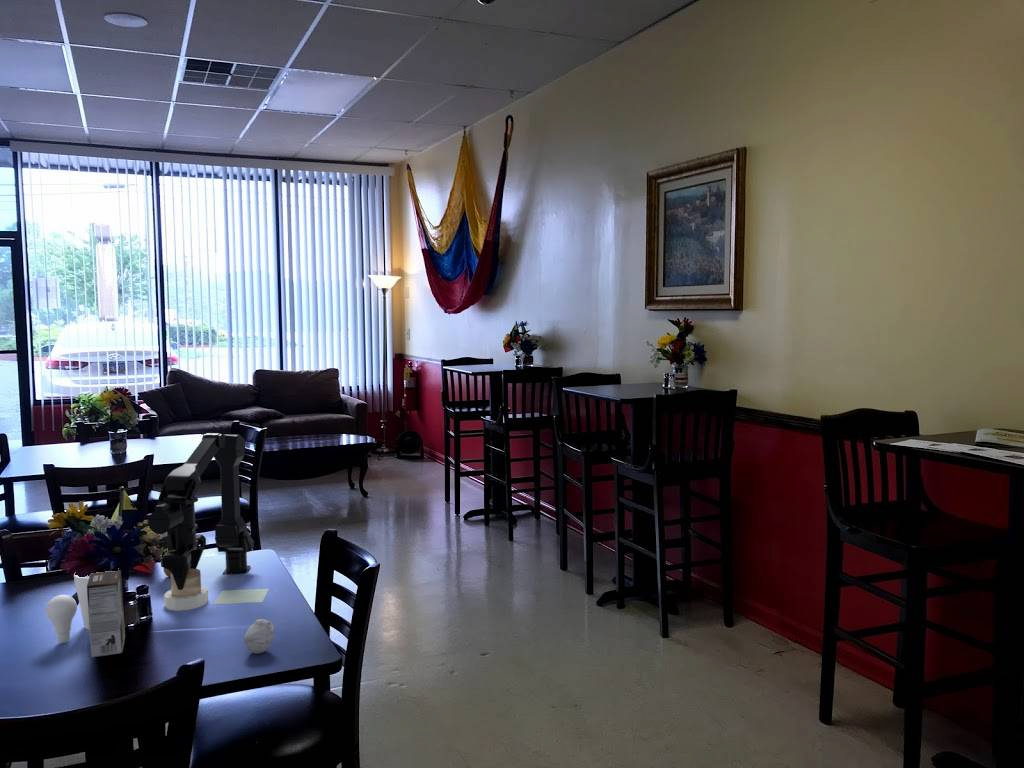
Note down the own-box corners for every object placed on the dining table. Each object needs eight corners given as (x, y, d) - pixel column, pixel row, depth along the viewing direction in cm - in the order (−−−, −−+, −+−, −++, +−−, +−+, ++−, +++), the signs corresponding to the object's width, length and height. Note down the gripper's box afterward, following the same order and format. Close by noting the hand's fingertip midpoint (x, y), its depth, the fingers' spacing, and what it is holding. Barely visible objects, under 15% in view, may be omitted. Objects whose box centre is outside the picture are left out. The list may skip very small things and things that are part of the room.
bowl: (172, 598, 209) (171, 586, 209) (212, 596, 210) (211, 584, 210) (160, 612, 199) (159, 600, 199) (202, 610, 200) (201, 598, 200)
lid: (176, 588, 207) (175, 569, 207) (204, 586, 208) (203, 567, 208) (167, 597, 201) (166, 578, 200) (197, 596, 201) (196, 576, 201)
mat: (222, 592, 213) (222, 590, 213) (269, 589, 215) (269, 588, 215) (213, 605, 204) (213, 604, 203) (262, 603, 205) (262, 602, 205)
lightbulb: (83, 642, 182) (80, 595, 181) (53, 651, 177) (50, 602, 176) (73, 635, 186) (70, 588, 185) (44, 643, 181) (41, 595, 180)
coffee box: (94, 642, 182) (90, 572, 180) (125, 637, 184) (122, 568, 183) (89, 658, 173) (85, 585, 172) (122, 653, 176) (118, 581, 174)
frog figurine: (281, 648, 178) (280, 617, 177) (259, 660, 171) (258, 629, 171) (260, 643, 180) (258, 613, 180) (237, 656, 174) (236, 624, 173)
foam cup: (108, 632, 187) (105, 578, 186) (69, 632, 187) (65, 578, 186) (128, 617, 196) (125, 565, 195) (91, 617, 197) (88, 565, 195)
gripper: (161, 514, 211) (164, 572, 212) (136, 534, 193) (140, 598, 194) (205, 513, 212) (207, 571, 214) (185, 532, 194) (188, 595, 195)
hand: (185, 583), depth 204 cm, fingers open, 9 cm apart
